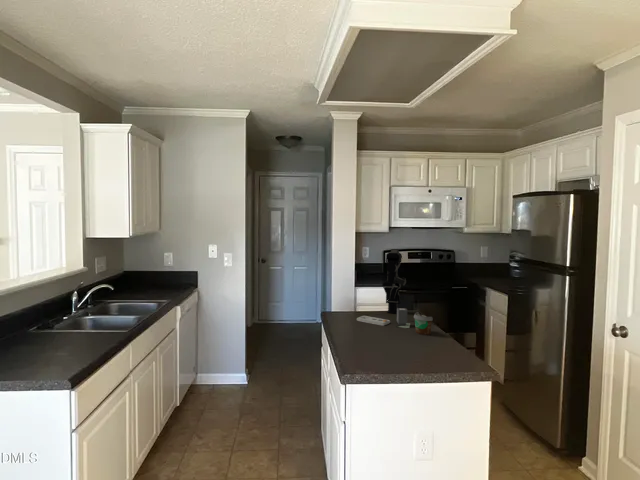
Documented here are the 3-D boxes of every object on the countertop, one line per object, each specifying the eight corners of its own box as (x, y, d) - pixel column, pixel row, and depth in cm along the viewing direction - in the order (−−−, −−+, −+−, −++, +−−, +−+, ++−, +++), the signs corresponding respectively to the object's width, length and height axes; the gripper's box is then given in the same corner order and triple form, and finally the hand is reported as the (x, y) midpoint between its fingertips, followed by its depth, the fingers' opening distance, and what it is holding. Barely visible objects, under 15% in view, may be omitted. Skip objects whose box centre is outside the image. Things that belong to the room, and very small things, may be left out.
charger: (396, 323, 255) (397, 308, 255) (405, 323, 255) (405, 308, 255) (398, 325, 250) (398, 310, 250) (407, 326, 250) (407, 310, 250)
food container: (408, 330, 242) (409, 312, 241) (417, 329, 244) (418, 311, 244) (422, 336, 231) (423, 317, 230) (432, 335, 233) (432, 316, 233)
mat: (394, 323, 258) (394, 322, 258) (410, 324, 256) (410, 323, 256) (392, 326, 250) (392, 326, 250) (409, 328, 247) (409, 327, 247)
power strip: (356, 322, 259) (356, 317, 258) (363, 319, 265) (364, 314, 265) (383, 327, 248) (383, 321, 248) (389, 324, 255) (390, 319, 254)
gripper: (400, 273, 258) (399, 300, 257) (409, 273, 275) (408, 299, 273) (382, 272, 263) (381, 298, 262) (392, 273, 280) (391, 297, 279)
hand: (391, 298), depth 269 cm, fingers open, 9 cm apart
